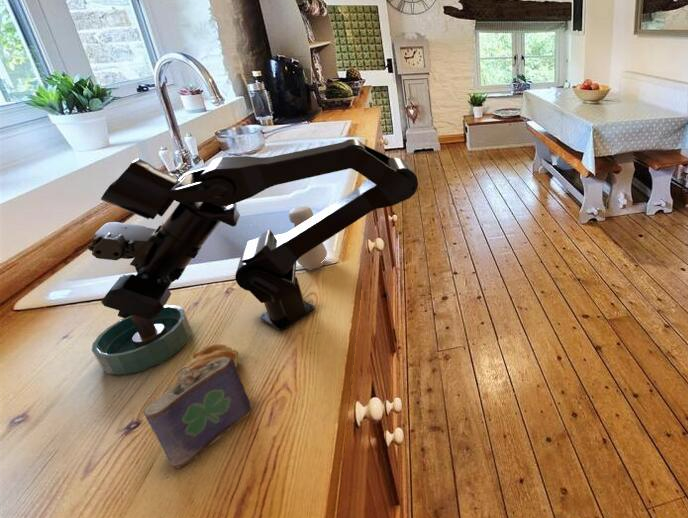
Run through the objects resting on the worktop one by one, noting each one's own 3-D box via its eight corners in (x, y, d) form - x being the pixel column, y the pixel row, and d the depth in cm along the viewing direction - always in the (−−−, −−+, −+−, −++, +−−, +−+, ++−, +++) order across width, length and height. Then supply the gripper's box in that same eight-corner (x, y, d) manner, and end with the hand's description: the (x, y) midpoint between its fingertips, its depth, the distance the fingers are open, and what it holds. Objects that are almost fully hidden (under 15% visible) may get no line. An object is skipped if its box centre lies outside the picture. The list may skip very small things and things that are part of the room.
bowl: (205, 338, 67) (197, 319, 65) (119, 389, 58) (107, 368, 57) (175, 315, 72) (167, 297, 71) (92, 358, 64) (80, 338, 62)
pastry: (233, 401, 56) (224, 381, 54) (173, 422, 53) (162, 401, 51) (241, 354, 63) (233, 335, 62) (189, 370, 61) (180, 351, 59)
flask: (178, 472, 47) (142, 407, 43) (165, 461, 48) (129, 396, 44) (256, 409, 54) (232, 347, 50) (243, 400, 56) (219, 339, 51)
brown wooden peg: (174, 335, 66) (150, 284, 62) (148, 354, 62) (121, 301, 58) (157, 331, 67) (132, 280, 63) (130, 349, 64) (102, 297, 60)
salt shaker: (334, 257, 88) (321, 202, 83) (320, 272, 83) (305, 215, 78) (308, 256, 89) (293, 202, 84) (293, 271, 84) (276, 215, 78)
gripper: (148, 182, 65) (91, 257, 65) (88, 236, 49) (14, 335, 50) (221, 215, 70) (168, 285, 71) (189, 274, 54) (122, 362, 55)
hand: (125, 311), depth 62 cm, fingers closed on brown wooden peg, 2 cm apart
